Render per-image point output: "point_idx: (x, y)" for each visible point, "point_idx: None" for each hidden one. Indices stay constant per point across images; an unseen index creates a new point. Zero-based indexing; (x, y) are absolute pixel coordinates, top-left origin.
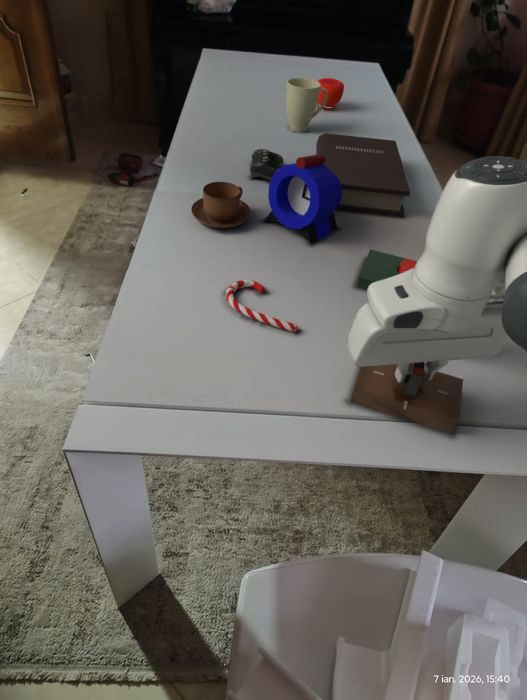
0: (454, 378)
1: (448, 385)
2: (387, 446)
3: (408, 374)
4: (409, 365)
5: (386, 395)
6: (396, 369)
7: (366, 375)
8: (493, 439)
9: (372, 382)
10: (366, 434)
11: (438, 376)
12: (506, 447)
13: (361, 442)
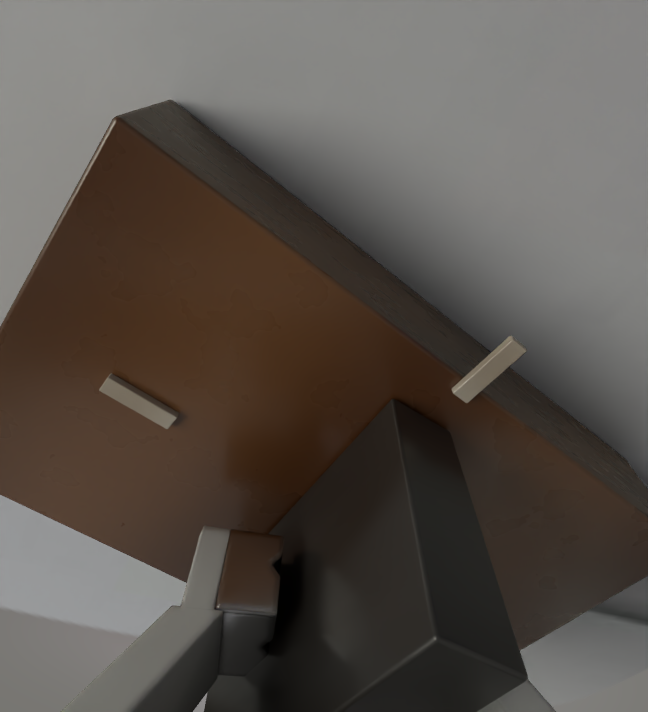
0: (642, 540)
1: (558, 564)
2: (129, 589)
3: (232, 674)
4: (340, 533)
5: (132, 545)
6: (191, 567)
7: (37, 395)
8: (560, 644)
9: (67, 455)
10: (54, 536)
11: (557, 505)
12: (575, 670)
13: (23, 557)
